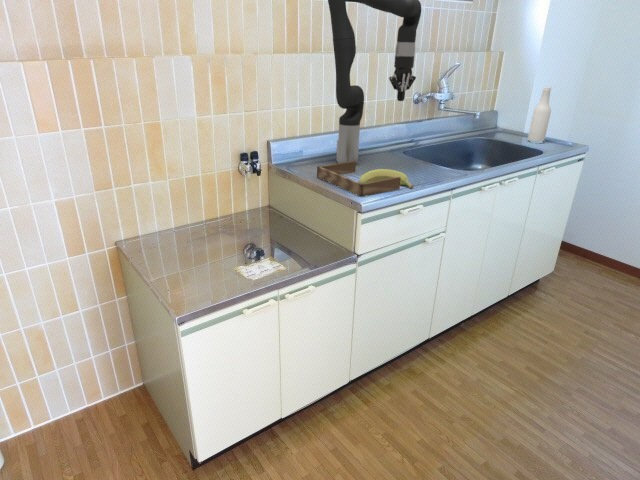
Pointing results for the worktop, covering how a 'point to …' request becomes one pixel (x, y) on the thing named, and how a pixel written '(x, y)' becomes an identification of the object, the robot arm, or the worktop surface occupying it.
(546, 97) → the alcohol
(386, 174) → the banana
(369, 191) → the box
